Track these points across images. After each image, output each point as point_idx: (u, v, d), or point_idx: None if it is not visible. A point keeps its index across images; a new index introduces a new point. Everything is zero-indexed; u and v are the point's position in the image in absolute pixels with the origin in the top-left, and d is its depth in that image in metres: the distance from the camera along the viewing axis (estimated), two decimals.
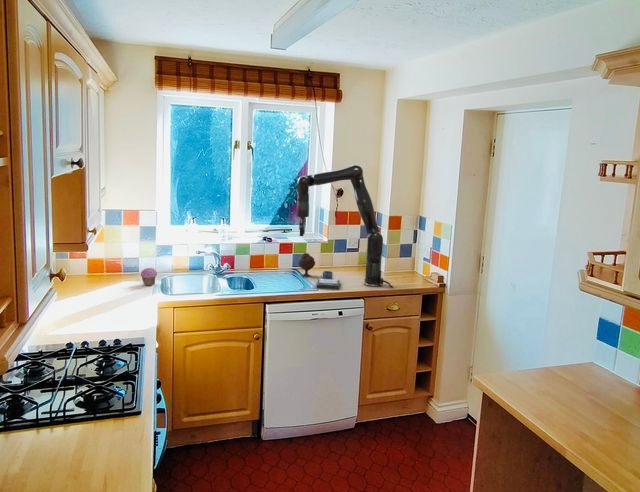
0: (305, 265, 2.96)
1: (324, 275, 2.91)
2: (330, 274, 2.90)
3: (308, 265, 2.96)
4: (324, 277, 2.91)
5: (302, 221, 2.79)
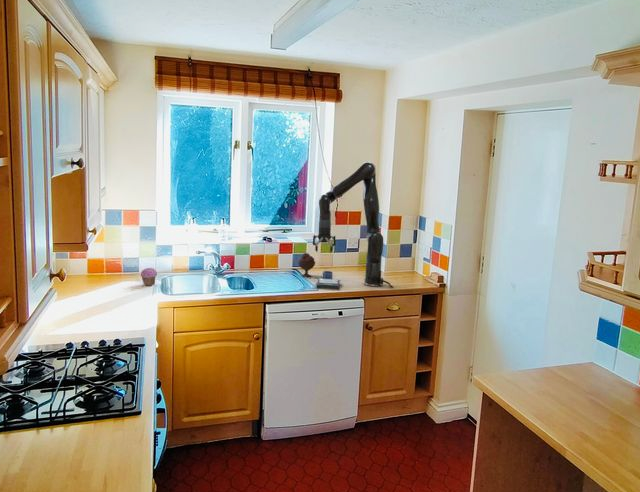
0: (305, 265, 2.96)
1: (324, 275, 2.91)
2: (330, 274, 2.90)
3: (308, 265, 2.96)
4: (324, 277, 2.91)
5: (313, 236, 2.89)
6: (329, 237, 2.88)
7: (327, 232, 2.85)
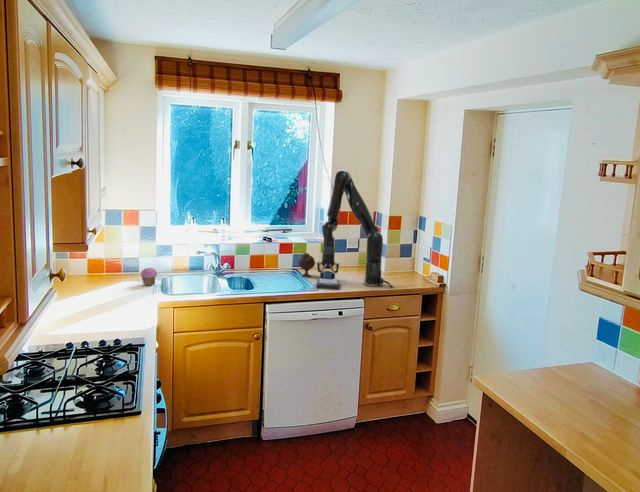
0: (305, 265, 2.96)
1: (324, 275, 2.91)
2: (330, 274, 2.90)
3: (308, 265, 2.96)
4: (324, 277, 2.91)
5: (317, 264, 2.92)
6: (333, 264, 2.91)
7: (331, 259, 2.88)
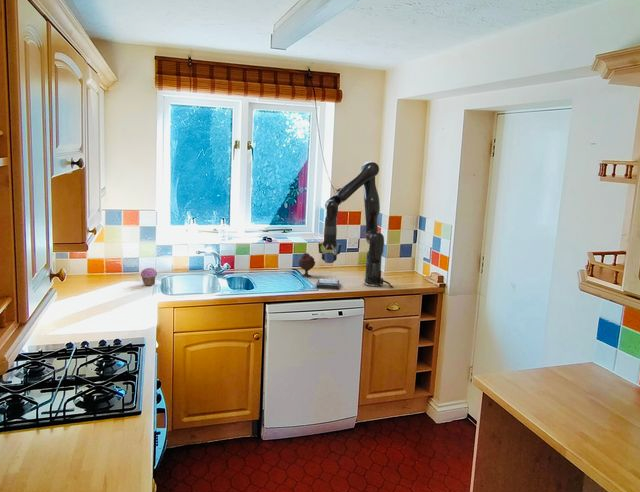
0: (305, 265, 2.96)
1: (326, 256, 2.78)
2: (332, 255, 2.78)
3: (308, 265, 2.96)
4: (326, 258, 2.79)
5: None
6: (335, 244, 2.78)
7: (332, 239, 2.76)
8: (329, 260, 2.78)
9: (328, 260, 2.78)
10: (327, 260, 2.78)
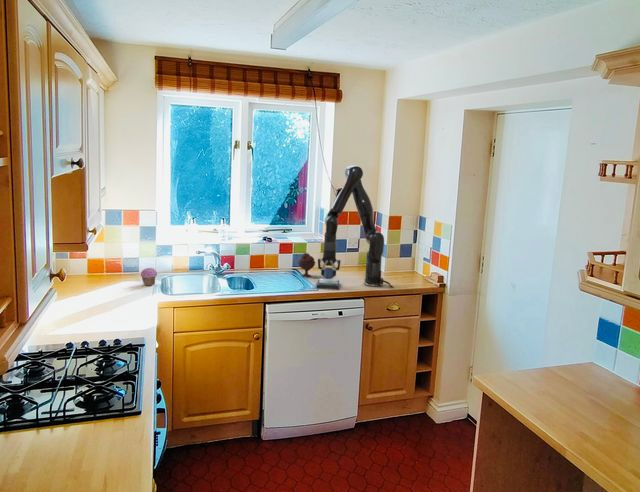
0: (305, 265, 2.96)
1: (325, 272, 2.78)
2: (331, 271, 2.78)
3: (308, 265, 2.96)
4: (325, 274, 2.78)
5: None
6: (334, 260, 2.78)
7: (332, 255, 2.76)
8: (328, 276, 2.78)
9: (327, 276, 2.78)
10: (326, 276, 2.78)
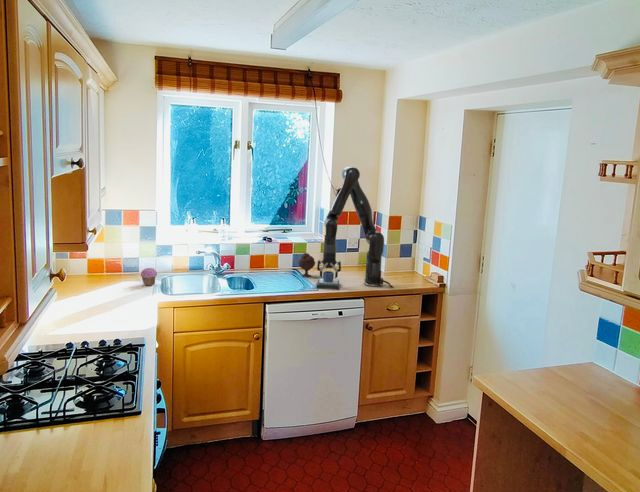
0: (305, 265, 2.96)
1: (325, 275, 2.79)
2: (331, 274, 2.78)
3: (308, 265, 2.96)
4: (325, 277, 2.79)
5: None
6: (334, 262, 2.79)
7: (332, 257, 2.76)
8: (328, 279, 2.78)
9: (327, 279, 2.78)
10: (326, 279, 2.78)
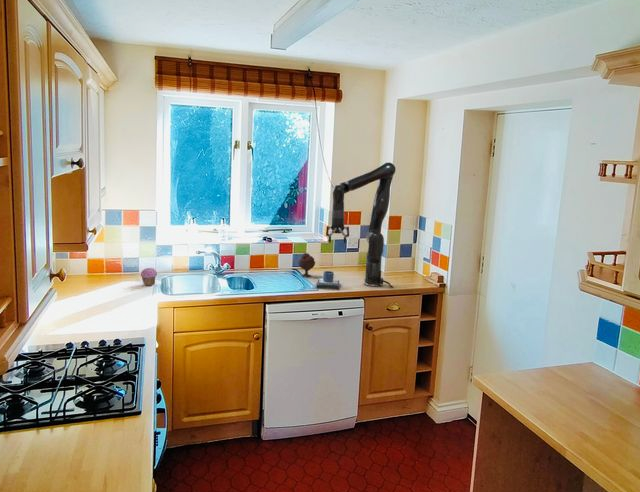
0: (305, 265, 2.96)
1: (325, 275, 2.79)
2: (331, 274, 2.78)
3: (308, 265, 2.96)
4: (325, 277, 2.79)
5: None
6: (342, 228, 2.85)
7: (340, 223, 2.83)
8: (328, 279, 2.78)
9: (327, 279, 2.78)
10: (326, 279, 2.78)
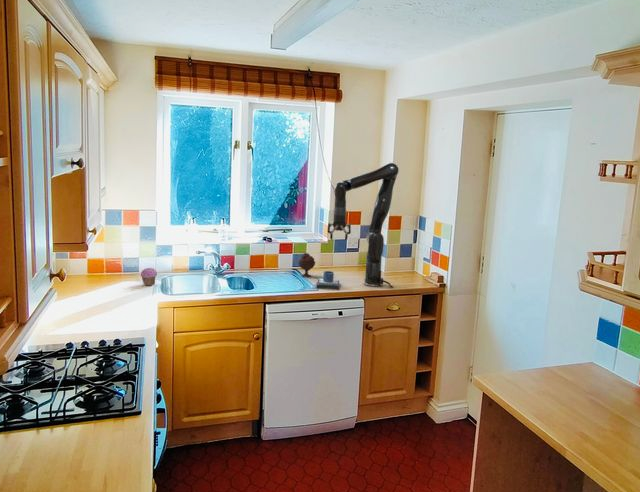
0: (305, 265, 2.96)
1: (325, 275, 2.79)
2: (331, 274, 2.78)
3: (308, 265, 2.96)
4: (325, 277, 2.79)
5: (328, 224, 2.88)
6: (344, 225, 2.87)
7: (342, 220, 2.84)
8: (328, 279, 2.78)
9: (327, 279, 2.78)
10: (326, 279, 2.78)
